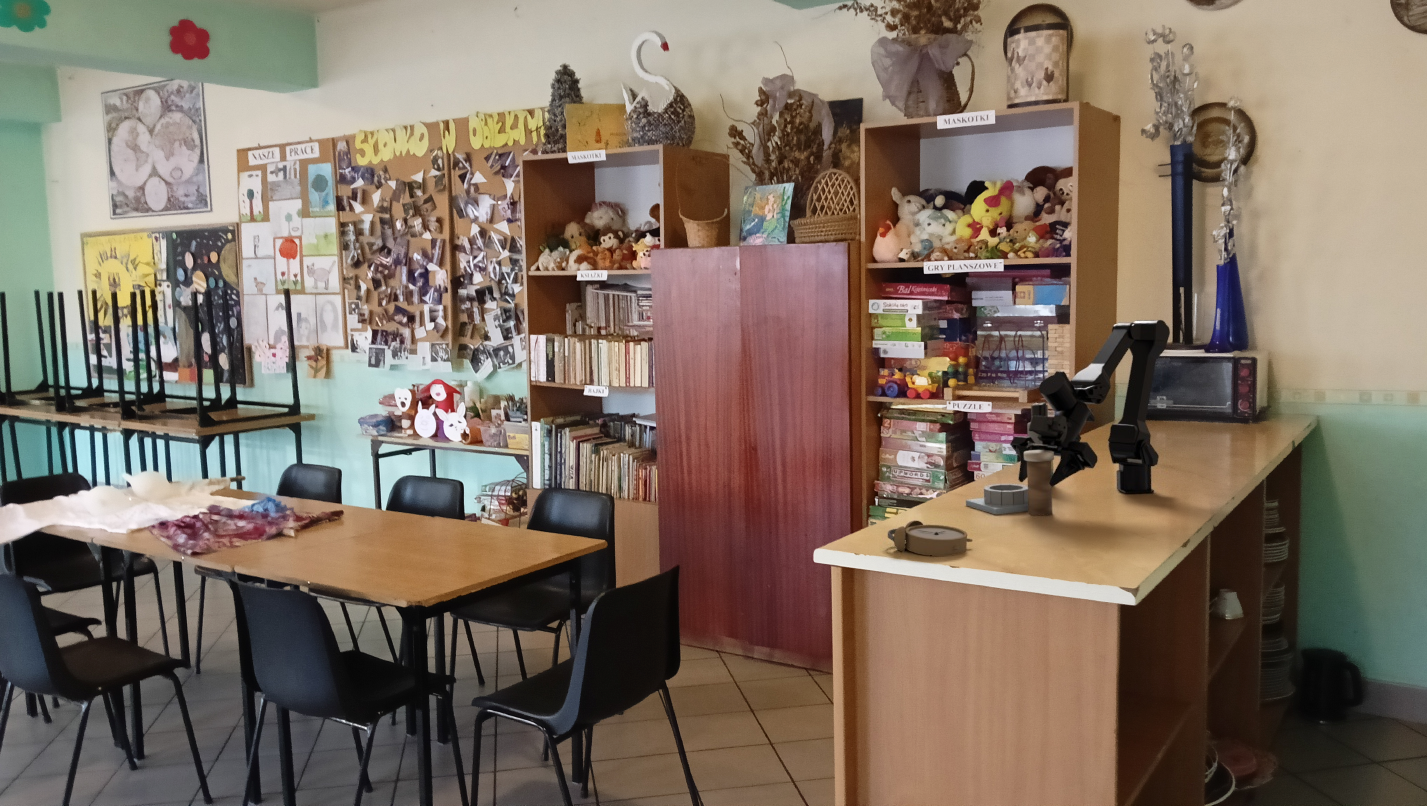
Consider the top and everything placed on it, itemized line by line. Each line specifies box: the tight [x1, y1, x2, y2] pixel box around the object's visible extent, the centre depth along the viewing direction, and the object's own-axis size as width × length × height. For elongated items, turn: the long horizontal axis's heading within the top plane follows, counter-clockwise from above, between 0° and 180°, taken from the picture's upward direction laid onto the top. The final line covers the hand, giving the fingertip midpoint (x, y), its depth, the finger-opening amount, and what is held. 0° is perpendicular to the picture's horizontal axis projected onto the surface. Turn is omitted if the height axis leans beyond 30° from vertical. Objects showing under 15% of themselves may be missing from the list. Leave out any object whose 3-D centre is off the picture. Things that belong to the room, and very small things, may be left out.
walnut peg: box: [1024, 450, 1055, 517], centre depth 224 cm, size 6×6×13 cm
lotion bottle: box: [1027, 401, 1054, 478], centre depth 255 cm, size 6×6×20 cm
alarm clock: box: [887, 520, 973, 557], centre depth 199 cm, size 11×5×15 cm
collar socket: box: [965, 483, 1028, 516], centre depth 233 cm, size 13×12×4 cm
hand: (1035, 483), depth 223 cm, fingers open, 8 cm apart
